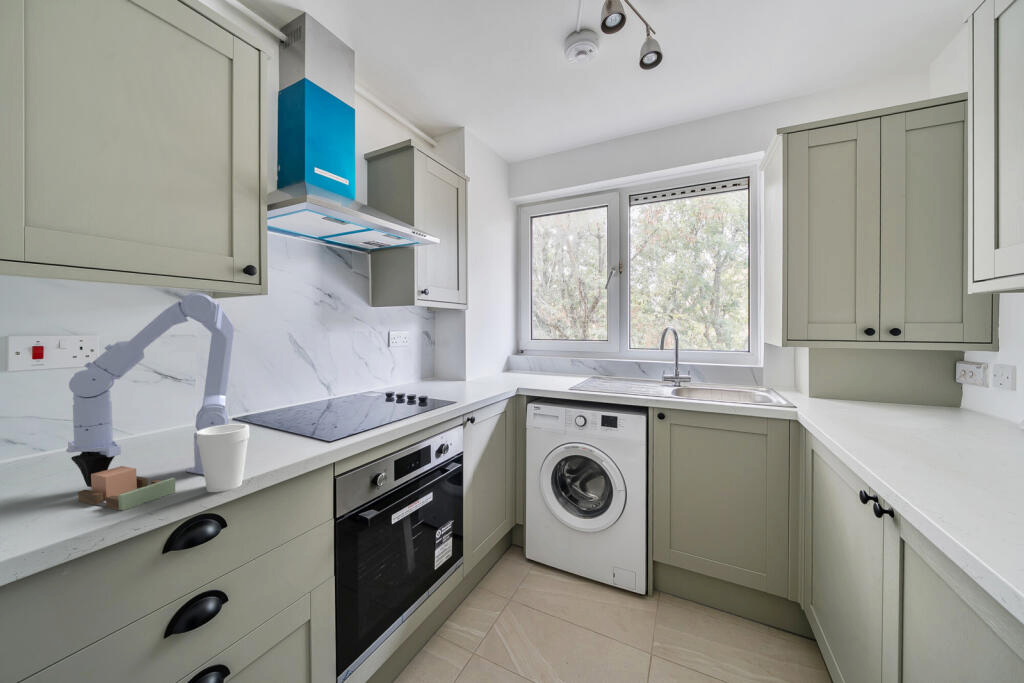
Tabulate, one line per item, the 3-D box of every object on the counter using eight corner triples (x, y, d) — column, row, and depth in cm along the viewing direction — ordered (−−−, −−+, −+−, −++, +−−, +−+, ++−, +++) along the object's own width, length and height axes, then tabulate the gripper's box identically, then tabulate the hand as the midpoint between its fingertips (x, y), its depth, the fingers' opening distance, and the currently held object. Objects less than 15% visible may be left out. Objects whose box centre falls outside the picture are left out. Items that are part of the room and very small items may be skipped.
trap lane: (133, 484, 86) (133, 471, 86) (175, 492, 82) (175, 478, 82) (78, 501, 78) (78, 486, 78) (122, 510, 74) (121, 495, 74)
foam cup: (259, 478, 90) (258, 423, 90) (231, 495, 81) (230, 434, 80) (218, 478, 90) (217, 424, 89) (186, 495, 80) (184, 434, 80)
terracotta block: (122, 488, 85) (121, 466, 84) (136, 491, 83) (136, 468, 83) (91, 497, 80) (91, 474, 80) (106, 500, 78) (105, 476, 78)
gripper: (47, 425, 81) (49, 488, 82) (88, 431, 77) (90, 497, 77) (91, 418, 88) (93, 476, 88) (132, 423, 84) (134, 483, 84)
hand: (95, 485), depth 83 cm, fingers closed
